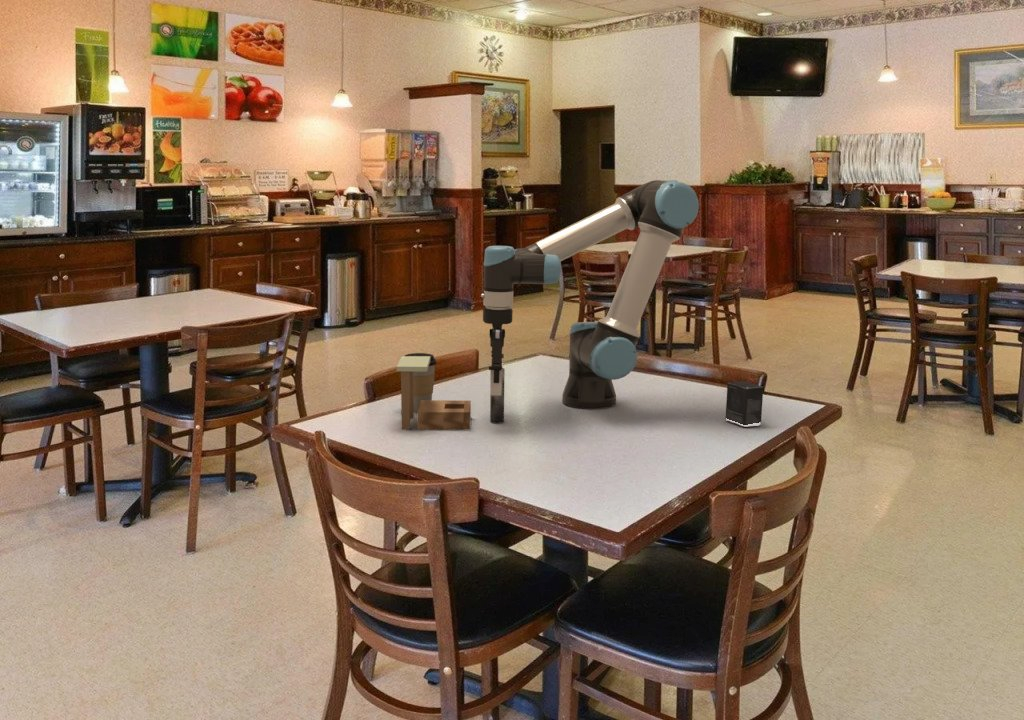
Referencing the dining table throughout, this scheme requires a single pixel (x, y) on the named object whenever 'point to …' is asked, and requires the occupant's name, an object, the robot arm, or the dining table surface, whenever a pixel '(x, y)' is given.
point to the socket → (444, 415)
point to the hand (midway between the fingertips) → (495, 389)
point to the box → (744, 402)
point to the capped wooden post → (409, 384)
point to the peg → (497, 404)
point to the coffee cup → (423, 382)
